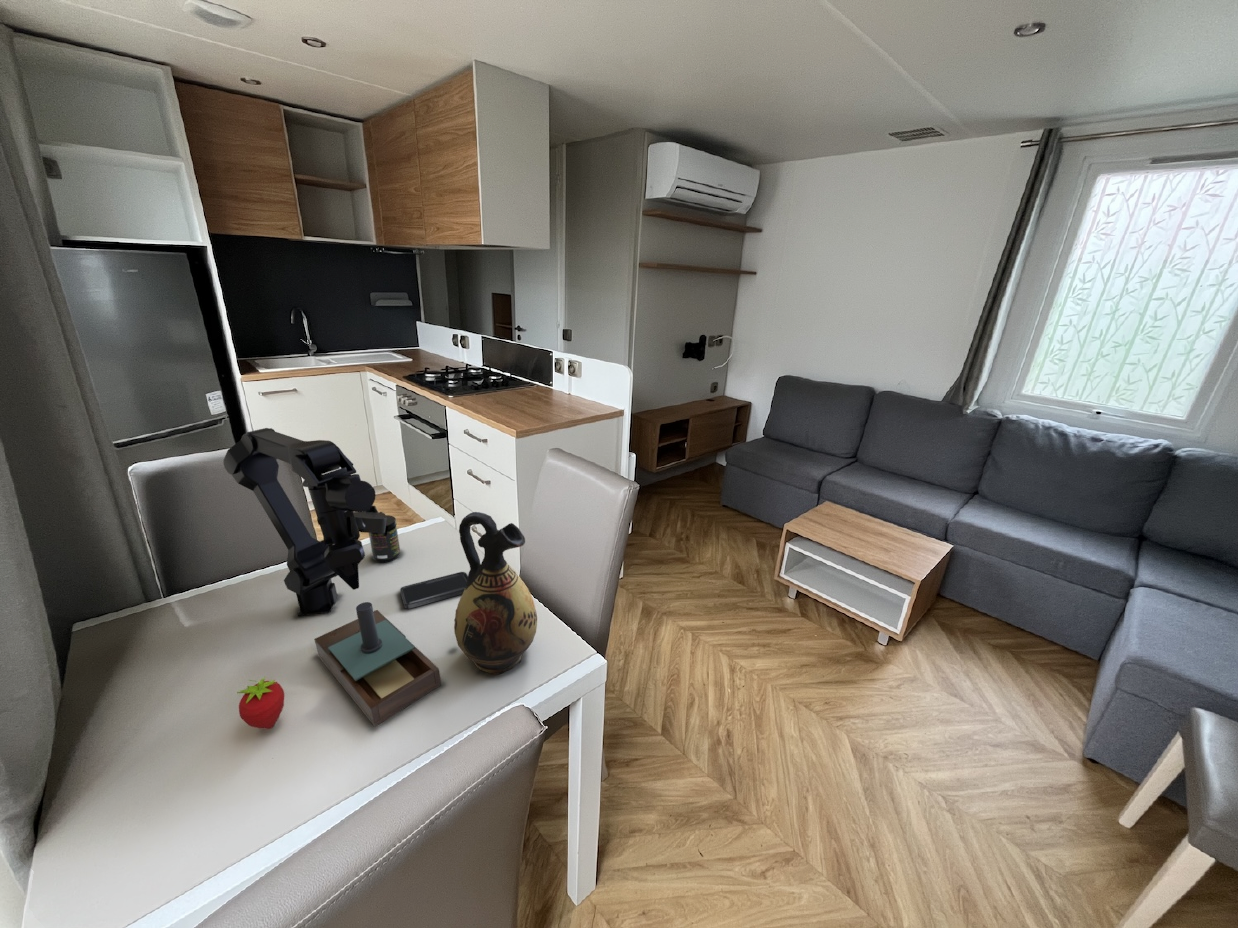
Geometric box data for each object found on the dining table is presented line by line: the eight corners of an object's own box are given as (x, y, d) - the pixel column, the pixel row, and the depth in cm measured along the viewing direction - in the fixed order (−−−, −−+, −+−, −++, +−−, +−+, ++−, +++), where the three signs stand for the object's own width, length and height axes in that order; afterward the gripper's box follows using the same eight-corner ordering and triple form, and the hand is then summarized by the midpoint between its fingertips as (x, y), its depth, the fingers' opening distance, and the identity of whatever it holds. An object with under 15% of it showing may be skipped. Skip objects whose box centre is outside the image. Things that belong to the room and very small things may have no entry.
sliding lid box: (318, 656, 95) (314, 638, 94) (380, 626, 104) (377, 609, 102) (374, 726, 81) (370, 707, 79) (441, 684, 89) (438, 666, 88)
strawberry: (244, 753, 76) (227, 703, 72) (251, 716, 82) (236, 669, 79) (289, 738, 78) (275, 689, 75) (293, 703, 85) (280, 657, 81)
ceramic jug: (551, 637, 102) (546, 506, 91) (517, 693, 88) (507, 546, 77) (477, 621, 106) (465, 494, 95) (434, 672, 92) (414, 530, 82)
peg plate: (328, 648, 91) (318, 606, 88) (386, 620, 99) (379, 580, 95) (355, 681, 84) (345, 636, 80) (415, 648, 91) (409, 606, 88)
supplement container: (403, 548, 133) (398, 514, 130) (398, 562, 127) (392, 526, 123) (376, 551, 132) (370, 516, 128) (370, 564, 126) (363, 528, 122)
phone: (472, 587, 115) (404, 605, 108) (473, 591, 116) (405, 609, 109) (464, 570, 122) (399, 586, 115) (465, 574, 122) (400, 591, 115)
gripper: (383, 507, 90) (403, 582, 95) (373, 486, 106) (391, 551, 110) (313, 525, 85) (339, 604, 89) (314, 500, 101) (336, 568, 105)
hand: (354, 579), depth 99 cm, fingers open, 9 cm apart
